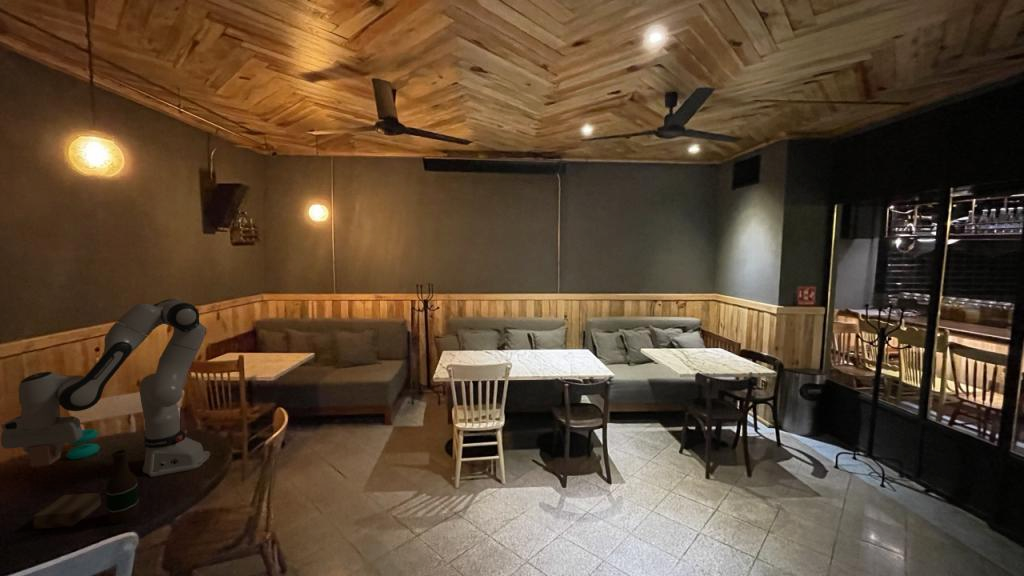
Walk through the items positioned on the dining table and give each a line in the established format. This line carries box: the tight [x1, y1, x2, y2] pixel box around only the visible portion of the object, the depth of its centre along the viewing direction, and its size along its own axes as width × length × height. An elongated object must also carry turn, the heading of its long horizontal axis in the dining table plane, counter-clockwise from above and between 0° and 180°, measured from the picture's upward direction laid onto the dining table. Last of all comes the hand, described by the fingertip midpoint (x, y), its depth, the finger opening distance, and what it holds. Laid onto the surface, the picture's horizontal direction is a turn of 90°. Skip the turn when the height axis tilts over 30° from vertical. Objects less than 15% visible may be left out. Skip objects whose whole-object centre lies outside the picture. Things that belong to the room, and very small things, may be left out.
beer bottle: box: [105, 449, 140, 525], centre depth 136 cm, size 8×8×24 cm
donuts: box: [66, 428, 100, 460], centre depth 175 cm, size 10×10×10 cm
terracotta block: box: [28, 444, 62, 468], centre depth 140 cm, size 5×5×7 cm
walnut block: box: [32, 492, 102, 530], centre depth 137 cm, size 11×11×5 cm
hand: (45, 455), depth 140 cm, fingers closed on terracotta block, 5 cm apart
